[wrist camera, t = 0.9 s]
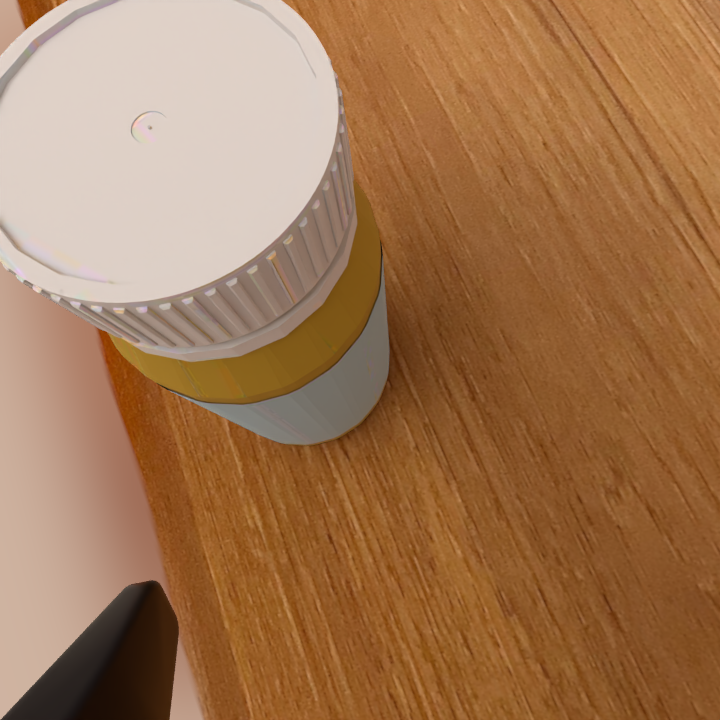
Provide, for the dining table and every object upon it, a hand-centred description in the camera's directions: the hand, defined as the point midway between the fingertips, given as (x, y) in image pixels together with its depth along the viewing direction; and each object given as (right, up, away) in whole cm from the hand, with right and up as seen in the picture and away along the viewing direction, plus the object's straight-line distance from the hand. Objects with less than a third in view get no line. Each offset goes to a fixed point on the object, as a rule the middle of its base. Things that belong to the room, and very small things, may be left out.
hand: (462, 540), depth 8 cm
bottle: (-4, +2, +15) cm, 16 cm away
